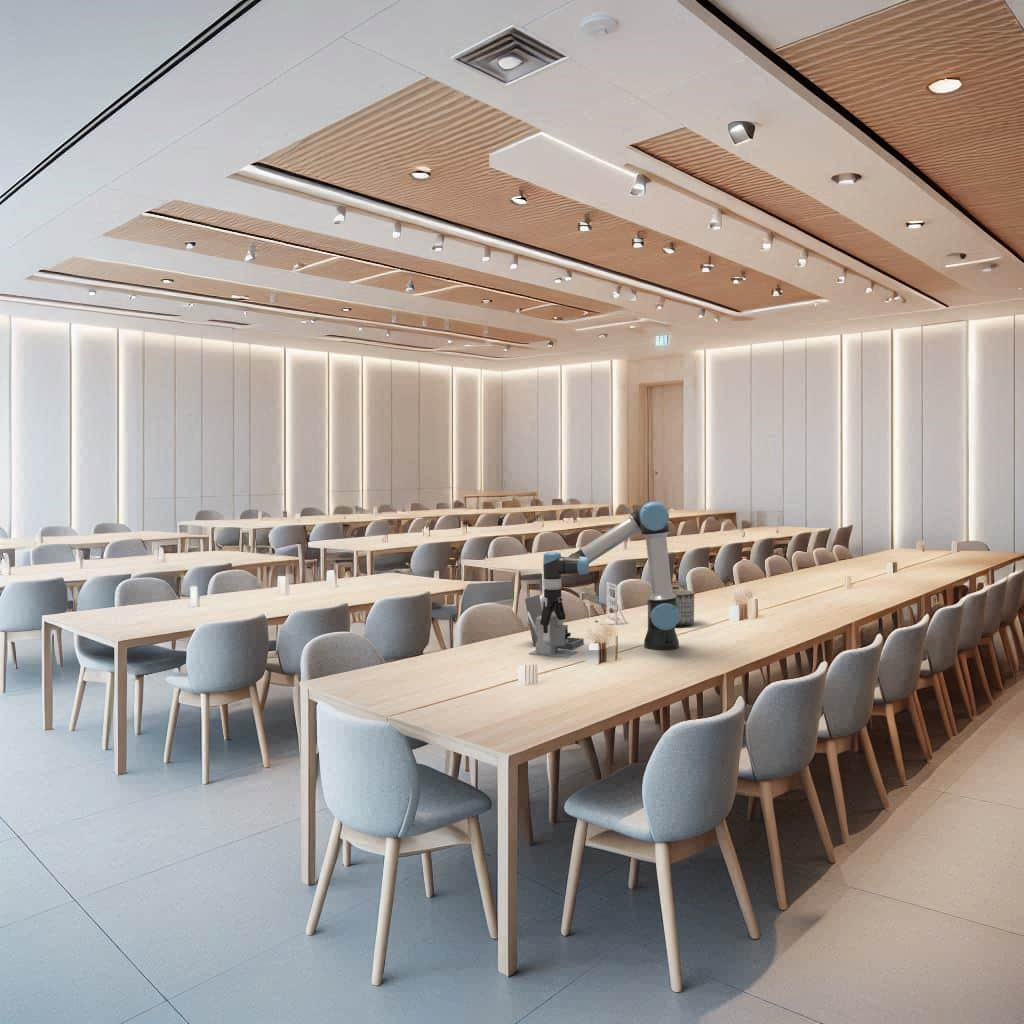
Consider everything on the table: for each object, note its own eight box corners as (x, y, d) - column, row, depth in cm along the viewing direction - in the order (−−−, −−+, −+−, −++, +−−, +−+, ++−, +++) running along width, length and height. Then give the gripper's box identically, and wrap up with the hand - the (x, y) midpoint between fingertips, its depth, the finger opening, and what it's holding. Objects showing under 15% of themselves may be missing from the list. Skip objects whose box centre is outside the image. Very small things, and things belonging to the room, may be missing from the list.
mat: (578, 652, 367) (578, 651, 367) (567, 657, 357) (567, 656, 357) (540, 648, 376) (540, 647, 376) (528, 654, 365) (528, 653, 365)
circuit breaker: (568, 654, 361) (568, 619, 360) (535, 653, 364) (535, 618, 364) (571, 650, 368) (571, 616, 368) (539, 649, 372) (539, 615, 371)
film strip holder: (593, 620, 442) (592, 582, 441) (618, 619, 446) (617, 581, 445) (602, 625, 428) (602, 586, 428) (628, 624, 432) (628, 584, 431)
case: (583, 644, 384) (583, 597, 383) (571, 650, 372) (570, 601, 371) (538, 640, 395) (537, 594, 394) (524, 645, 382) (524, 598, 381)
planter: (649, 626, 424) (649, 593, 424) (664, 620, 441) (663, 588, 440) (686, 629, 414) (686, 595, 413) (700, 623, 431) (699, 590, 430)
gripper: (556, 584, 378) (557, 631, 379) (531, 591, 356) (532, 642, 357) (572, 585, 374) (573, 632, 375) (548, 592, 352) (548, 643, 353)
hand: (553, 637), depth 366 cm, fingers open, 13 cm apart
